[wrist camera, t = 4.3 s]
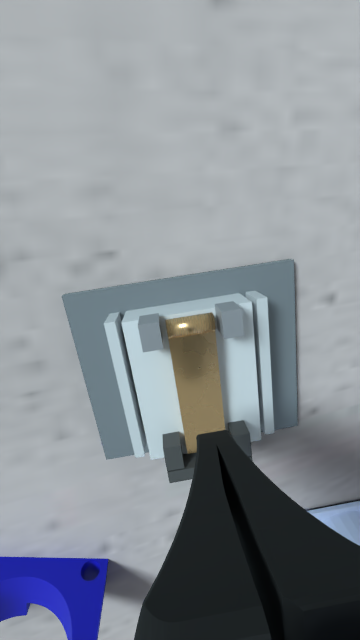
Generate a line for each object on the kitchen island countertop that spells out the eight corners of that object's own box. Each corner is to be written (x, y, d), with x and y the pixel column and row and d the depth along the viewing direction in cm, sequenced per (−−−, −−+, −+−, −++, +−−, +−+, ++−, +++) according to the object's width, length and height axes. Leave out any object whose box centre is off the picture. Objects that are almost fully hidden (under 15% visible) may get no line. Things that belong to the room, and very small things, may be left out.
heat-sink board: (289, 259, 18) (333, 266, 13) (293, 420, 21) (329, 469, 17) (64, 293, 17) (33, 314, 13) (107, 453, 21) (94, 512, 16)
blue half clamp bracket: (-41, 592, 24) (-104, 706, 18) (-45, 553, 22) (-114, 663, 17) (104, 593, 25) (89, 699, 19) (108, 557, 24) (93, 659, 18)
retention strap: (210, 309, 15) (214, 316, 14) (223, 437, 18) (227, 449, 17) (164, 316, 14) (165, 323, 14) (185, 443, 18) (187, 456, 17)
